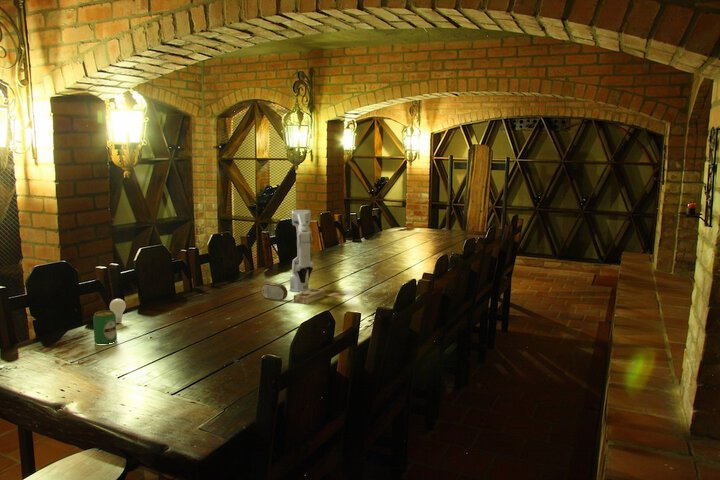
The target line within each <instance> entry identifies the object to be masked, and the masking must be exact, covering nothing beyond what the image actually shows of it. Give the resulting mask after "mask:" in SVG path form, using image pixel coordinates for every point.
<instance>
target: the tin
mask: <svg viewBox="0 0 720 480" xmlns="http://www.w3.org/2000/svg"><path fill="white" fill-rule="evenodd" d="M260 294H261V296H262V297H263V298H264V299H267V300H273V301H283V300H285V299H286V298H287V297H288V290H287V287H286V286H285V285H284V284H282V283H277V282H271V281H270V282H269V281H268V282H265V283H263V284H262V285H261V286H260Z"/></svg>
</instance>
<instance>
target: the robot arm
mask: <svg viewBox="0 0 720 480" xmlns="http://www.w3.org/2000/svg"><path fill="white" fill-rule="evenodd" d="M311 217H312V213H311V210H310V209H292V211H291V224H292V226H295V228H296V248H297V250H296V251H297V253H296V255H297V256H296V257H295V258H294V259H292V262H291V263H292V264H291V267H292V268H291V272H292V274H291V275H290V278H289V289H288V290H289V291H290V292H296V293H297V292H298V293H301V292H303V291H306V290H308V289H310V288H309V287H308V288H307V289H303V288H302V283H305V279H306V273H307V271H308V270H305V269H309V271H308V283H309V282H310V277H311V275H312V272H313V271H314V267H313V266H315V263H314V261H311V243H312V238H313V236H312V231H310V224H311Z"/></svg>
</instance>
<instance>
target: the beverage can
mask: <svg viewBox="0 0 720 480" xmlns="http://www.w3.org/2000/svg"><path fill="white" fill-rule="evenodd" d="M92 321H93V322H92V323H93V340H94V343H95V344H96V343H97V344H109V343H113V342H115V341H116V342H117V340H118V334H117V333H118V331H117V323H116V315H115V314H114V312H113V311H111V310H109V309H108V310H107V309H106V310H99V311H96V312H95V313H94V315H93V317H92ZM116 342H115V343H116Z"/></svg>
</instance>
